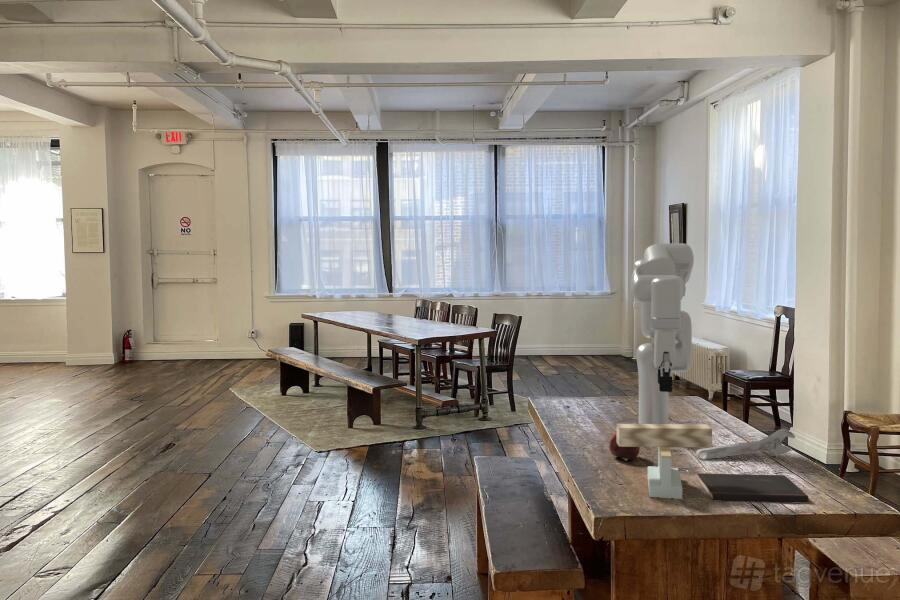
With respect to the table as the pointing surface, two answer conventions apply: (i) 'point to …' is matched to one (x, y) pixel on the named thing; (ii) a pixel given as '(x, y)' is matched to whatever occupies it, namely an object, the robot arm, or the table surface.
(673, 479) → the ridge stand
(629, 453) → the fruit
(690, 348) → the robot arm
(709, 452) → the wrench
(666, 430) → the birch bar
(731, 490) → the hardcover book
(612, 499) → the table surface
